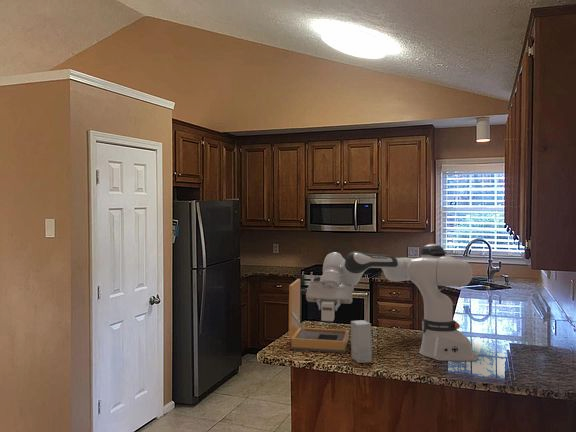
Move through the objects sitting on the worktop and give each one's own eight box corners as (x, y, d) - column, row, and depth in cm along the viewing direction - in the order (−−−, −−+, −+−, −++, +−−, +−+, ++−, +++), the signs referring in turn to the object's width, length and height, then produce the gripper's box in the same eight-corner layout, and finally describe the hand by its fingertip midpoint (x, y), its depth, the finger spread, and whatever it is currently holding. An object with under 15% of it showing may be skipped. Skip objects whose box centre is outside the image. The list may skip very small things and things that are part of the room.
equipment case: (348, 340, 230) (349, 280, 229) (344, 352, 210) (345, 287, 209) (297, 337, 234) (297, 278, 233) (288, 349, 214) (289, 285, 214)
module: (334, 318, 224) (334, 301, 223) (332, 321, 219) (333, 303, 218) (322, 318, 225) (323, 300, 224) (321, 320, 220) (321, 303, 219)
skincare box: (372, 362, 197) (372, 324, 197) (357, 363, 196) (357, 324, 196) (364, 356, 205) (364, 319, 205) (349, 357, 204) (350, 319, 204)
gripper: (354, 288, 230) (352, 315, 221) (309, 286, 235) (305, 312, 225) (353, 280, 226) (351, 306, 217) (307, 278, 230) (303, 304, 221)
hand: (327, 309), depth 221 cm, fingers closed on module, 5 cm apart
